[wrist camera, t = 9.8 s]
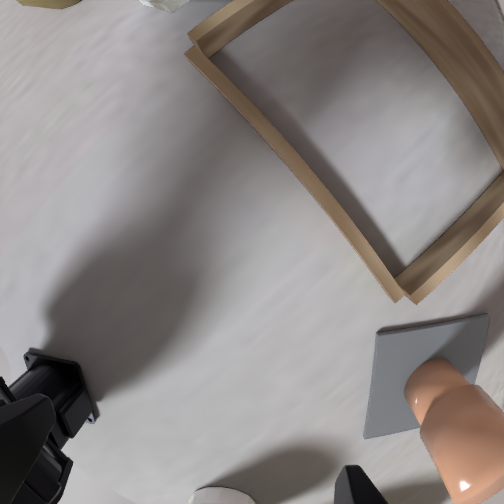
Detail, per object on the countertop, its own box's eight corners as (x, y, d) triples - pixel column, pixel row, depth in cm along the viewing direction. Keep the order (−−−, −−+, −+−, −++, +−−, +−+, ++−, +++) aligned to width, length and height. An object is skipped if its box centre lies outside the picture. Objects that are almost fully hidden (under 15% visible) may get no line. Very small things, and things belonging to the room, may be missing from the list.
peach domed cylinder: (385, 395, 21) (438, 505, 10) (434, 341, 20) (518, 434, 9) (424, 417, 21) (476, 510, 10) (468, 369, 20) (540, 451, 9)
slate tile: (363, 435, 22) (364, 439, 22) (376, 332, 20) (378, 336, 20) (462, 411, 22) (464, 414, 21) (486, 313, 20) (490, 315, 19)
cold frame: (387, 295, 20) (422, 330, 14) (132, 9, 17) (99, -28, 11) (510, 174, 18) (560, 176, 12) (277, -79, 14) (278, -122, 9)
